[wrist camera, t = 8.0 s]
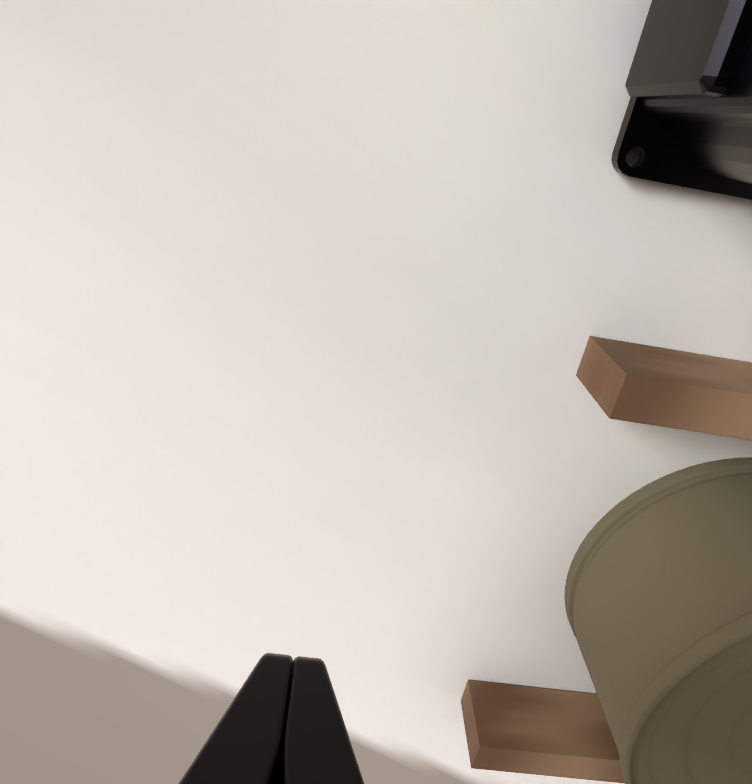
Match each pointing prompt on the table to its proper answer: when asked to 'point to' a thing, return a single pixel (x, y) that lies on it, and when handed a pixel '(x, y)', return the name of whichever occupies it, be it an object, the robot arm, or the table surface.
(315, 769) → the robot arm
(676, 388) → the pocket
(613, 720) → the can
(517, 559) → the table surface
